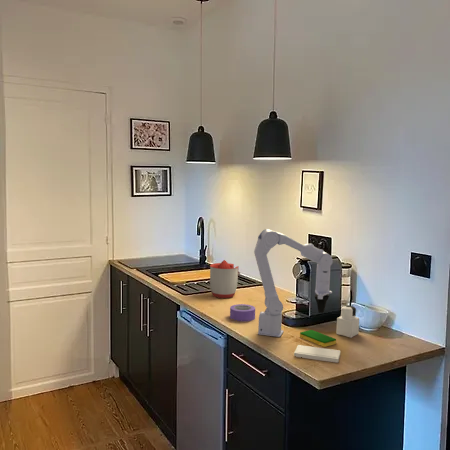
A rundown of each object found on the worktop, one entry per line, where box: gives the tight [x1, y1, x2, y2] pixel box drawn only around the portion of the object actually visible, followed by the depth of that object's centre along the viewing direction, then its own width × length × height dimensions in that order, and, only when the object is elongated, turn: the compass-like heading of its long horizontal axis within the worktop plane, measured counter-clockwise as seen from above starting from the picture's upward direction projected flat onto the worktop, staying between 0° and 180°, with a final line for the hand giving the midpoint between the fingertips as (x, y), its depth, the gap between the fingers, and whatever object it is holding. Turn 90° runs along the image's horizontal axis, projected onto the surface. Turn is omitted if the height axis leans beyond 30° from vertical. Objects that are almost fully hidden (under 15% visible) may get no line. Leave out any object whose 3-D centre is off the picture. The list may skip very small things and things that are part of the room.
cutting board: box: [293, 344, 341, 364], centre depth 179 cm, size 16×9×2 cm, turn 72°
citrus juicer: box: [209, 259, 241, 299], centre depth 262 cm, size 16×17×20 cm
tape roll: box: [229, 303, 256, 322], centre depth 224 cm, size 12×12×5 cm
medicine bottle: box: [335, 305, 360, 338], centre depth 204 cm, size 7×7×12 cm
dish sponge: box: [299, 329, 337, 348], centre depth 196 cm, size 7×14×2 cm, turn 36°
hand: (321, 311), depth 204 cm, fingers closed
